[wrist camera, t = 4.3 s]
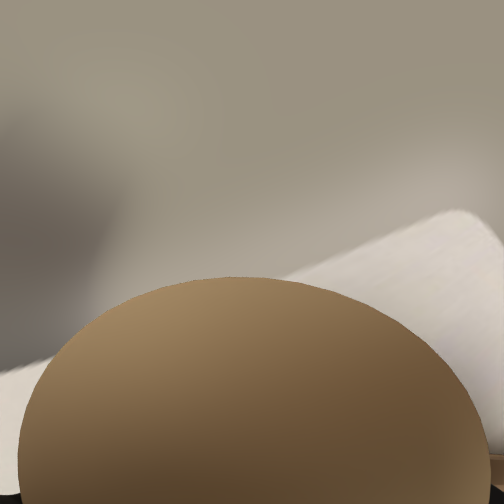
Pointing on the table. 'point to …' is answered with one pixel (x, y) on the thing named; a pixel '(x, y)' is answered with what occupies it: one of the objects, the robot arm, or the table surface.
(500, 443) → the table surface
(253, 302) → the oak spool
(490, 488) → the robot arm
